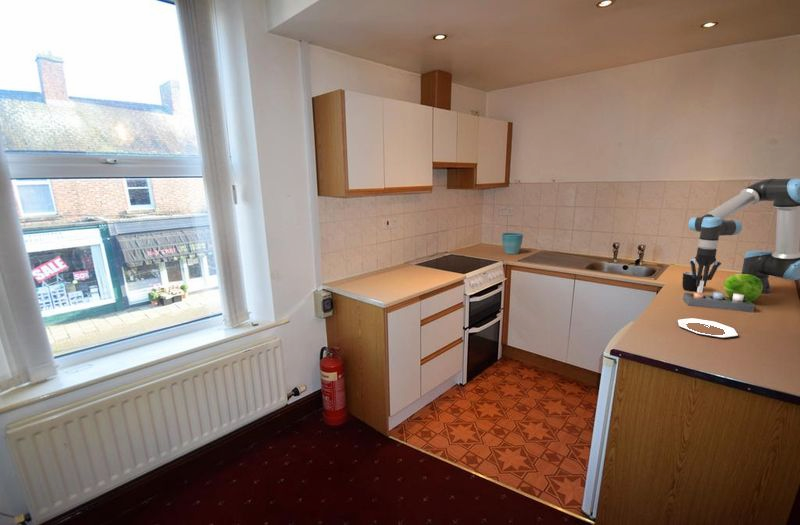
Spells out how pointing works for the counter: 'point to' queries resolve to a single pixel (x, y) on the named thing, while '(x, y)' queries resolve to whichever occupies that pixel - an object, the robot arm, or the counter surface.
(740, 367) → the counter surface
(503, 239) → the flower pot
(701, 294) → the key rust
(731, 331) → the plate
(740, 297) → the key ivory
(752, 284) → the lettuce
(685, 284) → the mug
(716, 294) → the key slate
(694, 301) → the panel
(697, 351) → the counter surface
